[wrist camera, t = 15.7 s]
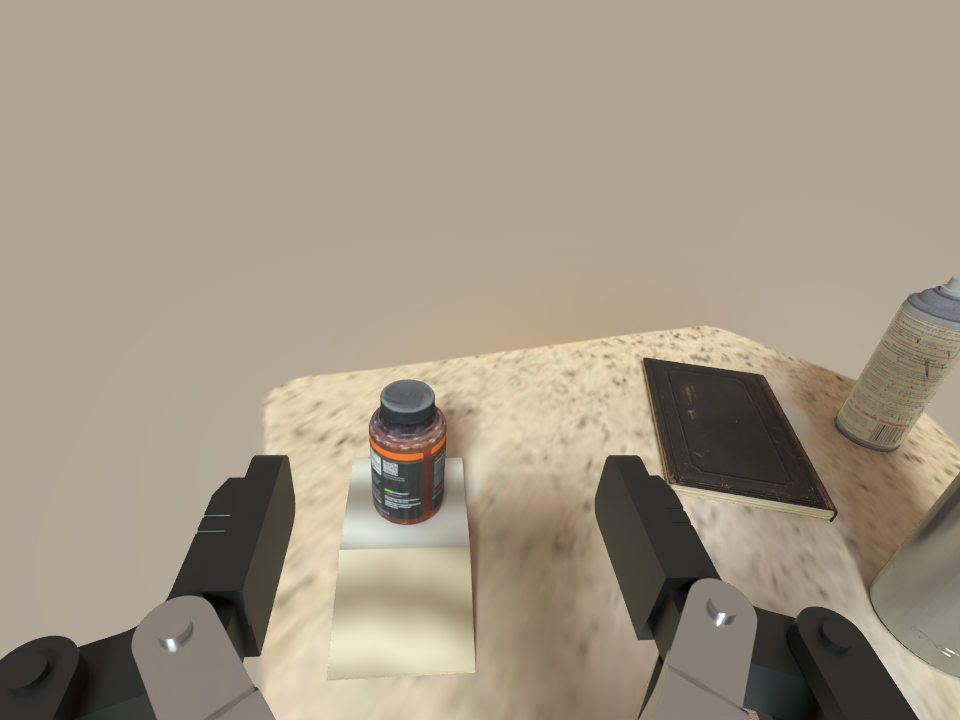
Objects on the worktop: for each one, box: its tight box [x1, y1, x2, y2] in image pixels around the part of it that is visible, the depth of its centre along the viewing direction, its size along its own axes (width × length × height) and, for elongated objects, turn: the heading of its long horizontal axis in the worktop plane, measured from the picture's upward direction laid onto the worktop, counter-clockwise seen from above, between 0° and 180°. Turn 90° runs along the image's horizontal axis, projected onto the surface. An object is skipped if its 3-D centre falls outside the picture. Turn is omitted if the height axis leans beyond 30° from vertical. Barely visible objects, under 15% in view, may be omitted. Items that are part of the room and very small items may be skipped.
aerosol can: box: [835, 276, 960, 452], centre depth 58 cm, size 7×7×20 cm
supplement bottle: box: [369, 380, 446, 525], centre depth 42 cm, size 6×6×11 cm
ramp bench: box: [327, 457, 475, 680], centre depth 43 cm, size 18×10×4 cm, turn 5°
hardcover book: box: [643, 358, 838, 522], centre depth 61 cm, size 16×23×2 cm
